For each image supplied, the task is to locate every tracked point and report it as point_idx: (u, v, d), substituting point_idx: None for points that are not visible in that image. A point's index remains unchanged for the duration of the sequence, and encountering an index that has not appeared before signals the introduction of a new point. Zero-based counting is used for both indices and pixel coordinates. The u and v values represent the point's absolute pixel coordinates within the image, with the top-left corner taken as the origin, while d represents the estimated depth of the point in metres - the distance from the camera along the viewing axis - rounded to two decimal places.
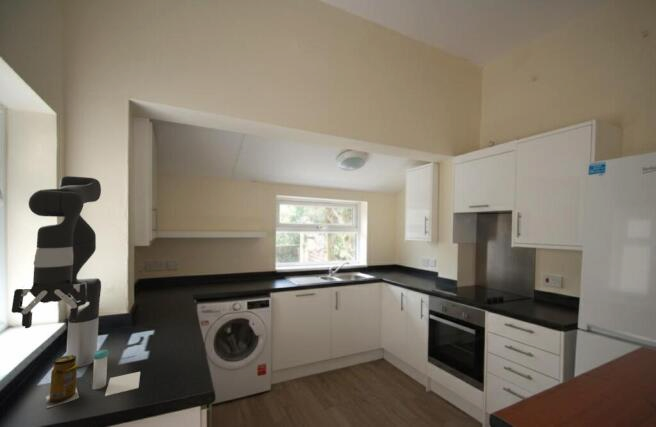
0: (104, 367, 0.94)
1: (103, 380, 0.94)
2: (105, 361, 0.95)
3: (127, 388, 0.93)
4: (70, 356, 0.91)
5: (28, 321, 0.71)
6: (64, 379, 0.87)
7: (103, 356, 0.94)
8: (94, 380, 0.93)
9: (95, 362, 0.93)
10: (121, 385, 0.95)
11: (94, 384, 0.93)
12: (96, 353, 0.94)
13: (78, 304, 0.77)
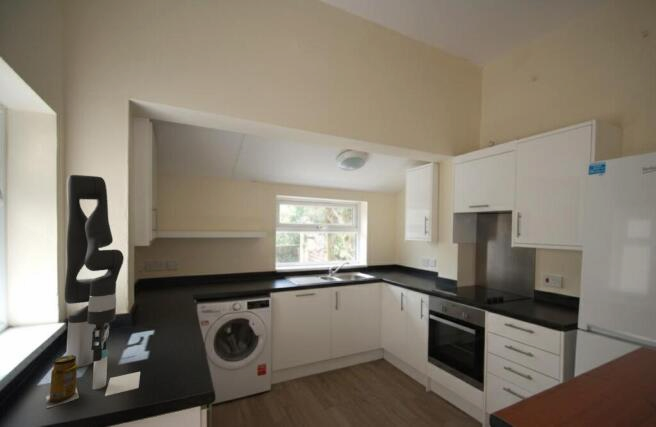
0: (104, 367, 0.94)
1: (103, 380, 0.94)
2: (105, 361, 0.95)
3: (127, 388, 0.93)
4: (70, 356, 0.91)
5: None
6: (64, 379, 0.87)
7: (103, 356, 0.94)
8: (94, 380, 0.93)
9: (95, 362, 0.93)
10: (121, 385, 0.95)
11: (94, 384, 0.93)
12: None
13: (106, 336, 1.00)
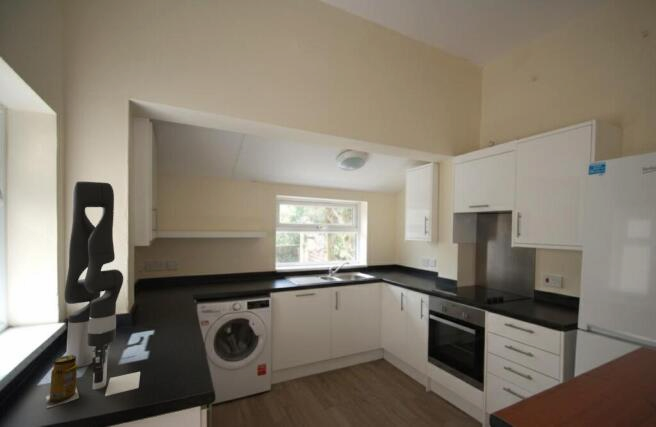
0: (104, 367, 0.94)
1: (103, 380, 0.94)
2: None
3: (127, 388, 0.93)
4: (70, 356, 0.91)
5: None
6: (64, 379, 0.87)
7: None
8: None
9: None
10: (121, 385, 0.95)
11: (94, 384, 0.93)
12: None
13: None
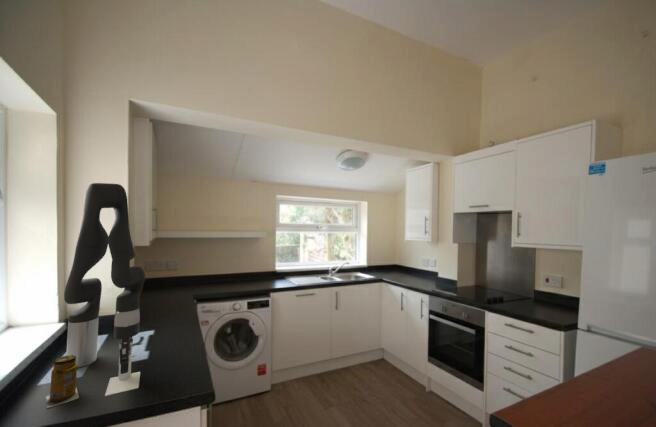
0: (129, 359, 0.99)
1: (128, 371, 0.99)
2: None
3: (127, 388, 0.93)
4: (70, 356, 0.91)
5: None
6: (64, 379, 0.87)
7: None
8: (120, 371, 0.98)
9: None
10: (121, 385, 0.95)
11: (120, 374, 0.98)
12: None
13: None
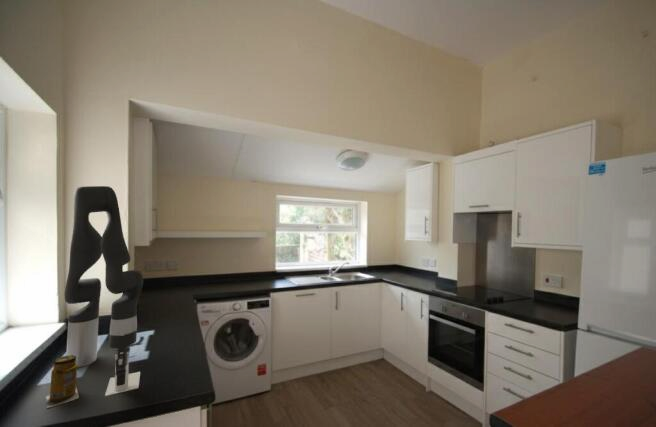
0: (126, 369, 0.93)
1: (125, 382, 0.92)
2: None
3: (127, 388, 0.93)
4: (70, 356, 0.91)
5: None
6: (64, 379, 0.87)
7: None
8: (116, 382, 0.91)
9: None
10: None
11: (117, 386, 0.91)
12: None
13: None
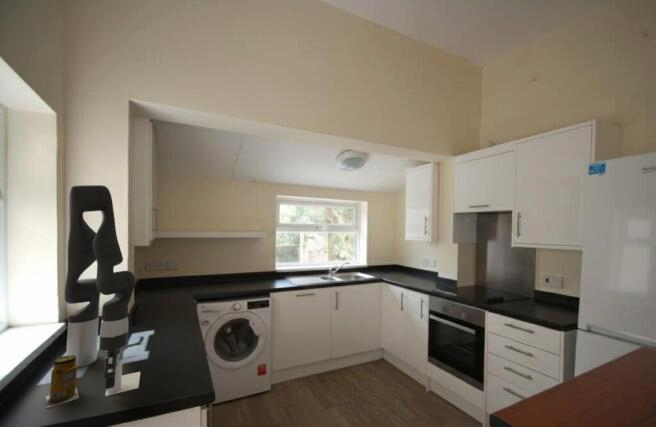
0: (119, 370, 0.92)
1: (118, 383, 0.91)
2: (120, 364, 0.92)
3: (127, 388, 0.93)
4: (70, 356, 0.91)
5: None
6: (64, 379, 0.87)
7: None
8: None
9: None
10: (121, 385, 0.95)
11: None
12: None
13: None
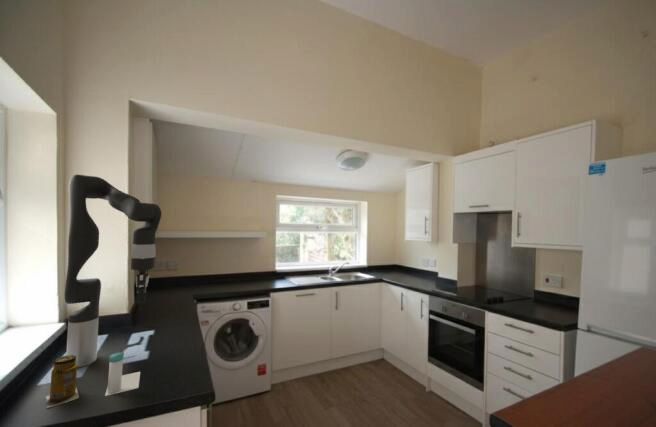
0: (120, 370, 0.92)
1: (118, 384, 0.91)
2: (121, 364, 0.92)
3: (127, 388, 0.93)
4: (70, 356, 0.91)
5: None
6: (64, 379, 0.87)
7: (119, 359, 0.92)
8: (109, 384, 0.90)
9: (111, 365, 0.91)
10: (121, 385, 0.95)
11: (109, 388, 0.90)
12: (112, 356, 0.92)
13: None
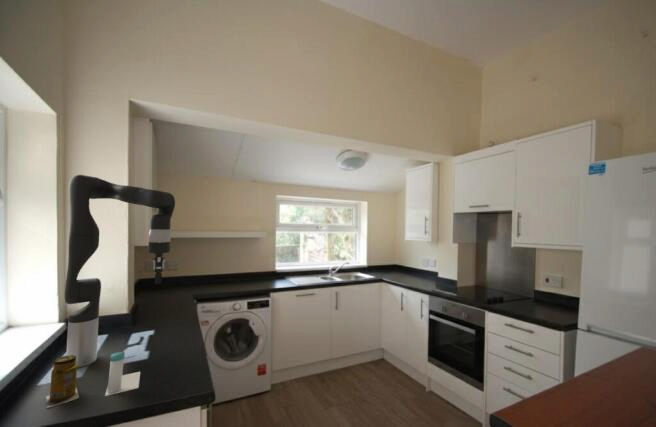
0: (120, 370, 0.92)
1: (118, 383, 0.91)
2: (121, 363, 0.93)
3: (127, 388, 0.93)
4: (70, 356, 0.91)
5: None
6: (64, 379, 0.87)
7: (120, 358, 0.92)
8: (110, 383, 0.90)
9: (112, 364, 0.91)
10: (121, 385, 0.95)
11: (110, 387, 0.90)
12: (113, 355, 0.92)
13: None
